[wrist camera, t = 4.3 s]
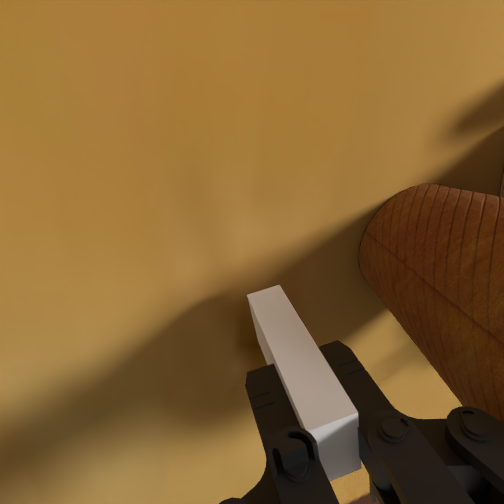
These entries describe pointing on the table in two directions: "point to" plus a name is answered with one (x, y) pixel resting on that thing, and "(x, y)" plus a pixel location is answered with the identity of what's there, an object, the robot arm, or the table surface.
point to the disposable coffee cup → (445, 283)
